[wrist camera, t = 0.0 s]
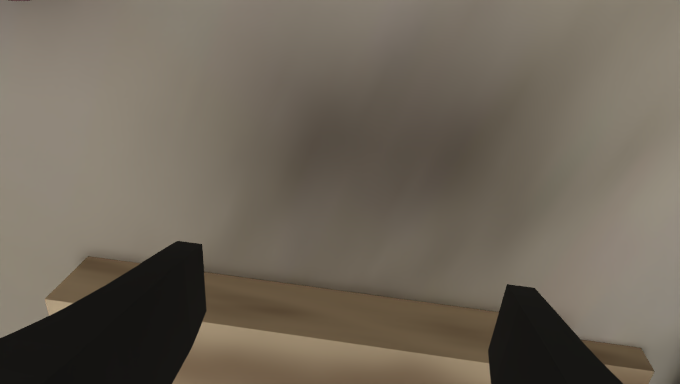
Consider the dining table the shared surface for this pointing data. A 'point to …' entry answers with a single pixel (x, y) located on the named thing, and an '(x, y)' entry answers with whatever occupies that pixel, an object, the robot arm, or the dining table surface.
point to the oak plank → (331, 335)
